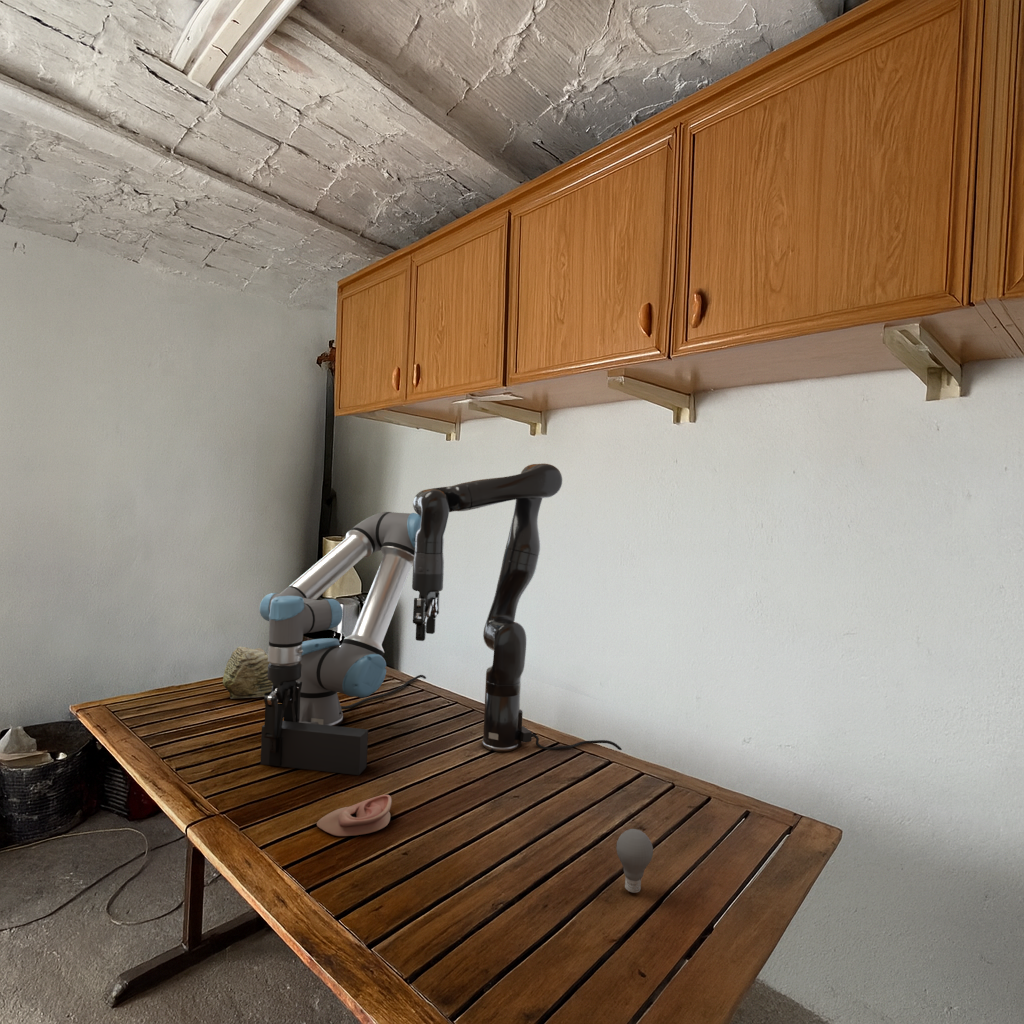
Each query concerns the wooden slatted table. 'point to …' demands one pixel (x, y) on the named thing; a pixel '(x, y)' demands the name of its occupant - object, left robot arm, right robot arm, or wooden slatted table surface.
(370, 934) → the wooden slatted table surface
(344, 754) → the bar
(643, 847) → the light bulb
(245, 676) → the fossil
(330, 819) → the anatomical model
